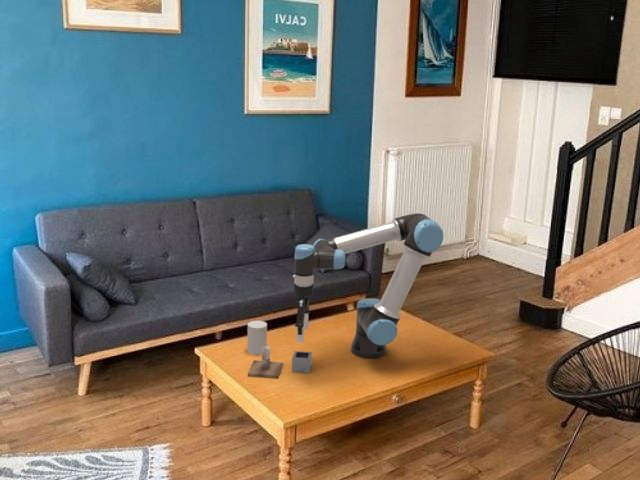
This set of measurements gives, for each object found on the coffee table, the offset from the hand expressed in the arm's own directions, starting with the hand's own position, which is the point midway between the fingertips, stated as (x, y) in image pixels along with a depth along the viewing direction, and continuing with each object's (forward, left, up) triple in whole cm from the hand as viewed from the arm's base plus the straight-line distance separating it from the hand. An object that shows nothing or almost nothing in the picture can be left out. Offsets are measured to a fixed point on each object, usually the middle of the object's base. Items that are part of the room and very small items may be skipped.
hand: (302, 335), depth 269 cm
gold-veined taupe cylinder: (+21, -14, -15) cm, 29 cm away
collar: (0, 0, -15) cm, 15 cm away
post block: (+14, +4, -15) cm, 21 cm away
